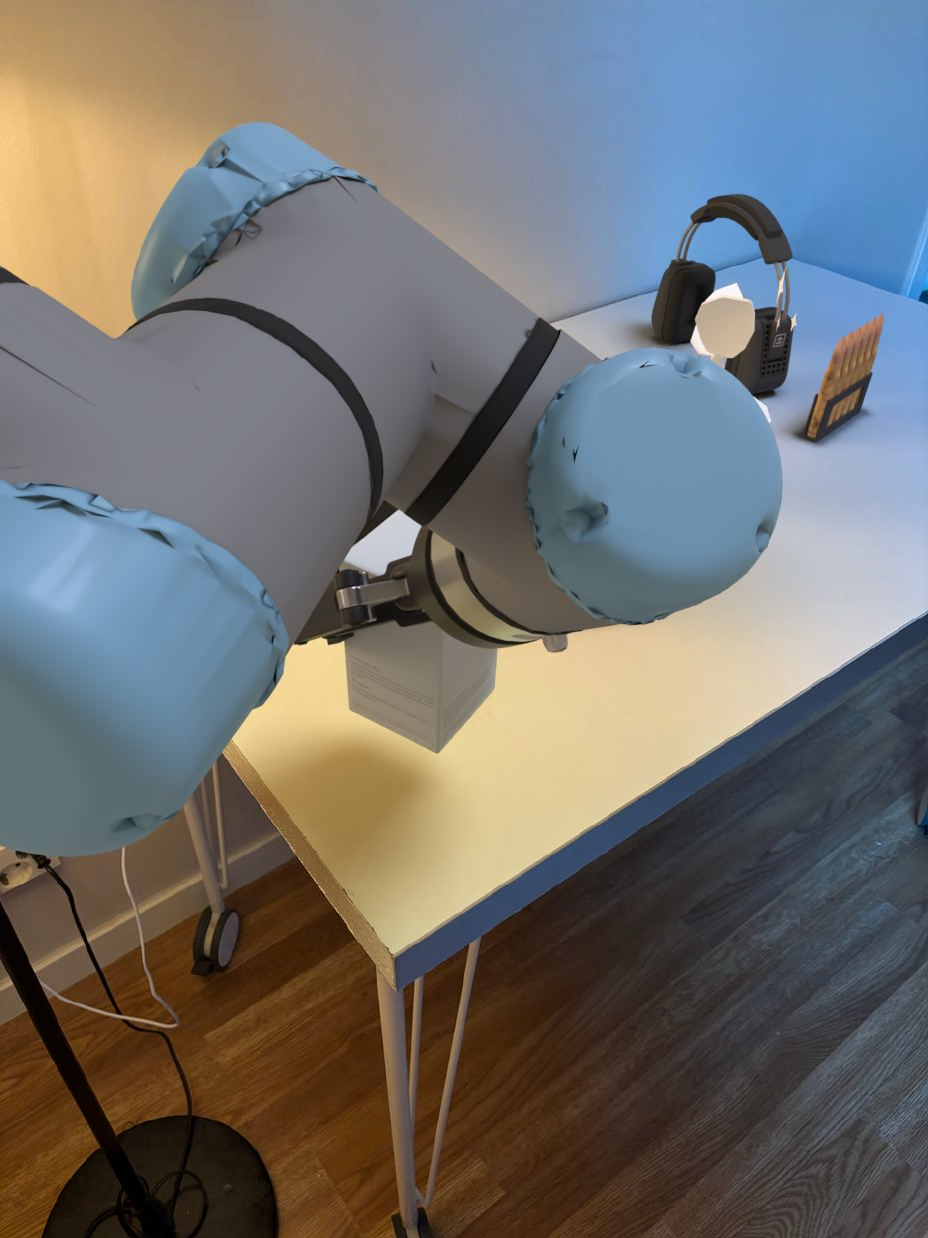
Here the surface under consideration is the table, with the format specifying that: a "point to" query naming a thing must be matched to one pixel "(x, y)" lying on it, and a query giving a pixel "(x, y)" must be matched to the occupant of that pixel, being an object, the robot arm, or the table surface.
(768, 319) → the headphones
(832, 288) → the table surface
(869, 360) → the ammunition clip
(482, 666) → the white packaging box
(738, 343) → the potted plant
